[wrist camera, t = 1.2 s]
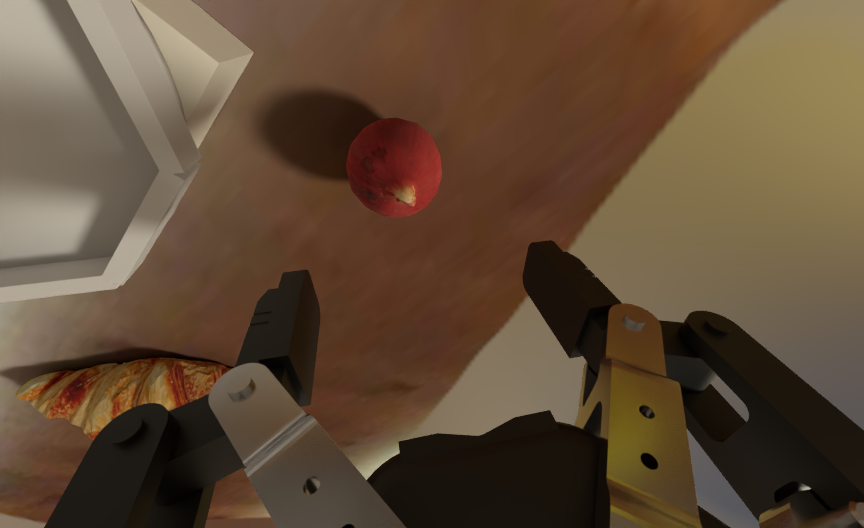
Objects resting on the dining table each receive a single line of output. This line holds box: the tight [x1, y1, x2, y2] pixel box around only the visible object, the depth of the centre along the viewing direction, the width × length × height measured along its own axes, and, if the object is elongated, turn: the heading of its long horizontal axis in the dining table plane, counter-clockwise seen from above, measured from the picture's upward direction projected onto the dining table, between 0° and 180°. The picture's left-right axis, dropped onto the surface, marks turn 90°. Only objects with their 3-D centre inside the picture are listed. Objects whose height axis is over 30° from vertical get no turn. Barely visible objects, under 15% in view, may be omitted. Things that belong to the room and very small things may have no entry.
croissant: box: [16, 358, 231, 440], centre depth 30 cm, size 21×10×8 cm, turn 69°
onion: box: [346, 118, 442, 218], centre depth 20 cm, size 6×6×8 cm
